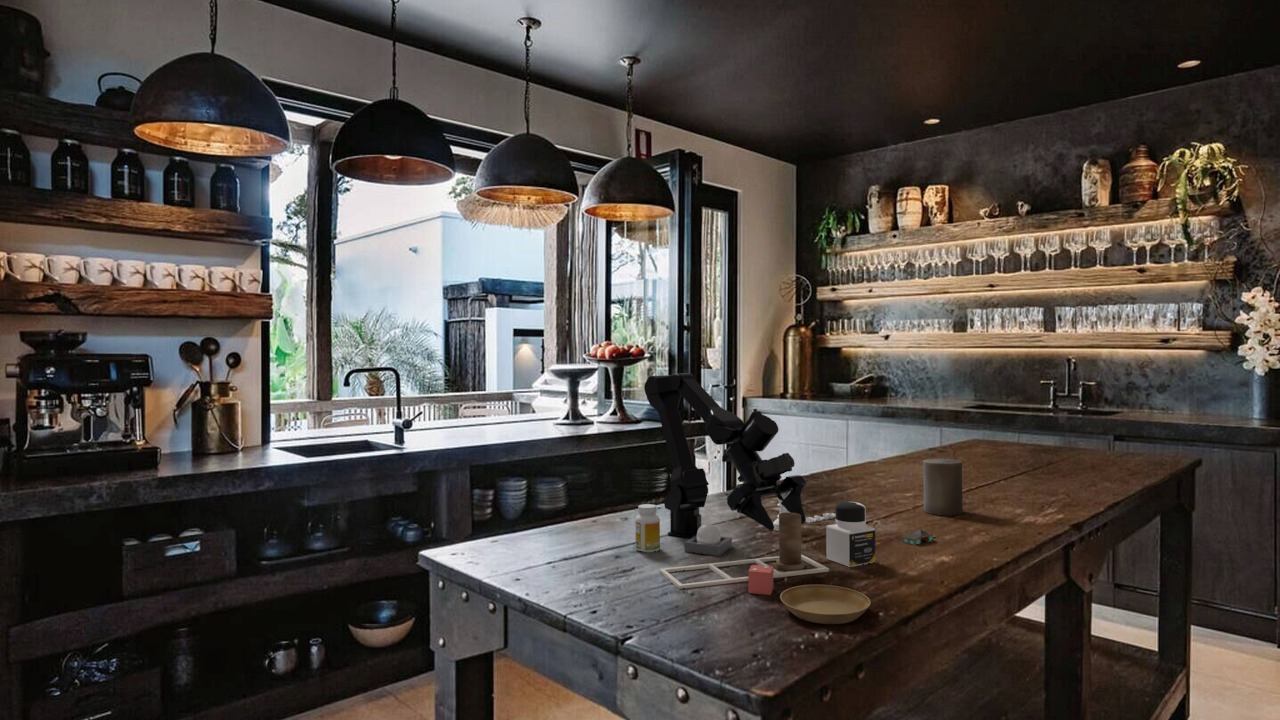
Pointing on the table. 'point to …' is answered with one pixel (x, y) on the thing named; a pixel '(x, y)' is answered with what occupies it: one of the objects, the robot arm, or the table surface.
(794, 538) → the brown flanged cylinder
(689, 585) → the track
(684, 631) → the table surface
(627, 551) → the table surface
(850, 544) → the medicine bottle
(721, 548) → the dome base
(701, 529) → the white ball
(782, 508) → the chess pawn
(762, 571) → the red die
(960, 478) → the pillar candle
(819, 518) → the game pieces
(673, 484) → the robot arm
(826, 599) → the plant saucer
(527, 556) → the table surface
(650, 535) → the supplement bottle
